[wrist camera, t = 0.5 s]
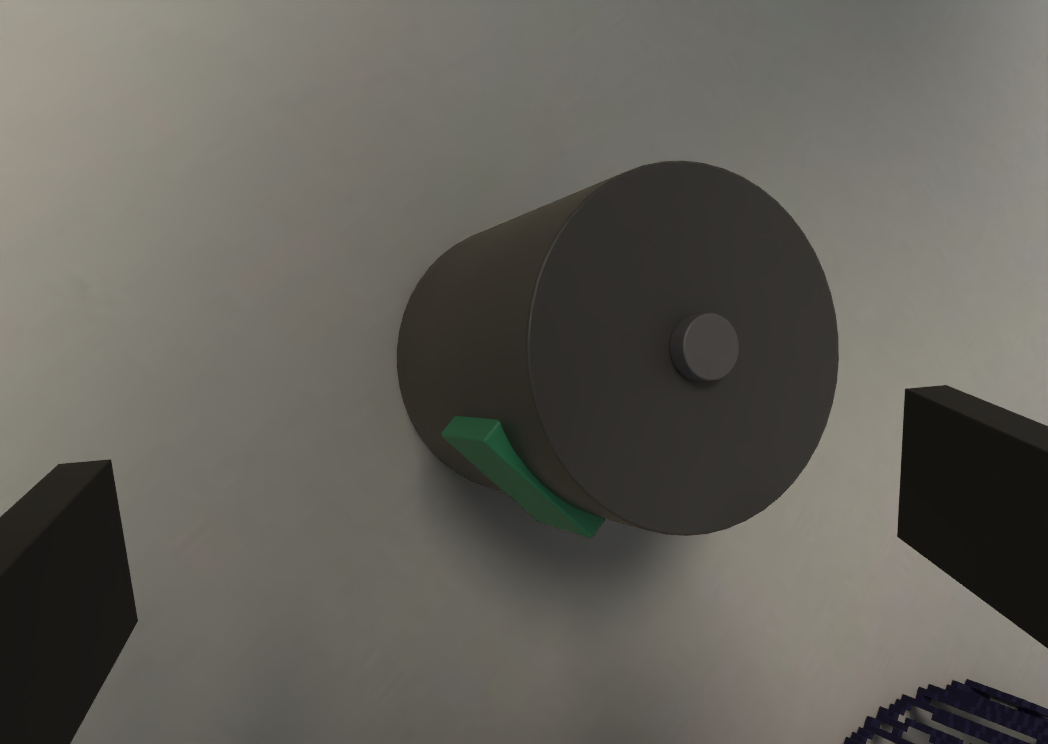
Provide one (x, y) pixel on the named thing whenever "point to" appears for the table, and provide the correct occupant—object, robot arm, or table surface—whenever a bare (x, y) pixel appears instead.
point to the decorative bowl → (966, 699)
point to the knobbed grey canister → (628, 353)
